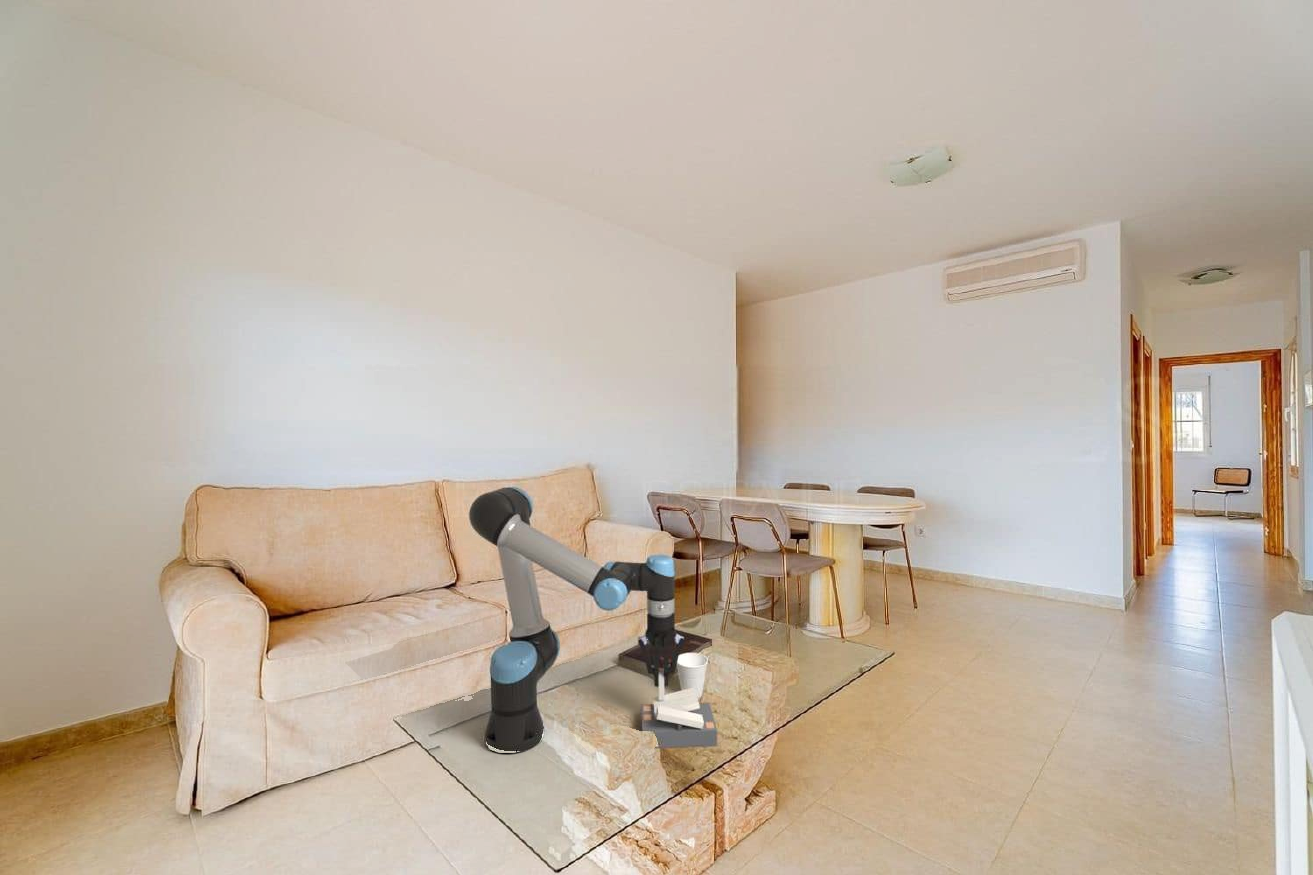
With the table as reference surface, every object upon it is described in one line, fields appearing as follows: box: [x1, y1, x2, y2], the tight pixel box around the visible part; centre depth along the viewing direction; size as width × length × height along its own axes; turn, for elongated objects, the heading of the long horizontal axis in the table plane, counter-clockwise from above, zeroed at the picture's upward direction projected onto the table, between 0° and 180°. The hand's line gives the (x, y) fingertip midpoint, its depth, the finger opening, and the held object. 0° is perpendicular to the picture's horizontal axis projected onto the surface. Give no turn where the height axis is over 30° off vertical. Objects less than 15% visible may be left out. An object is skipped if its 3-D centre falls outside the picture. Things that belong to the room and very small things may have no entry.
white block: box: [654, 695, 700, 720], centre depth 148 cm, size 12×4×2 cm, turn 92°
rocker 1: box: [652, 687, 698, 707], centre depth 153 cm, size 12×4×2 cm, turn 92°
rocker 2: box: [656, 706, 704, 729], centre depth 144 cm, size 12×4×2 cm, turn 94°
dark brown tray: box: [617, 628, 713, 680], centre depth 194 cm, size 29×19×5 cm, turn 141°
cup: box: [677, 653, 709, 700], centre depth 168 cm, size 10×10×11 cm
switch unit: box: [640, 702, 718, 749], centre depth 149 cm, size 19×14×6 cm
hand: (661, 697), depth 153 cm, fingers closed
